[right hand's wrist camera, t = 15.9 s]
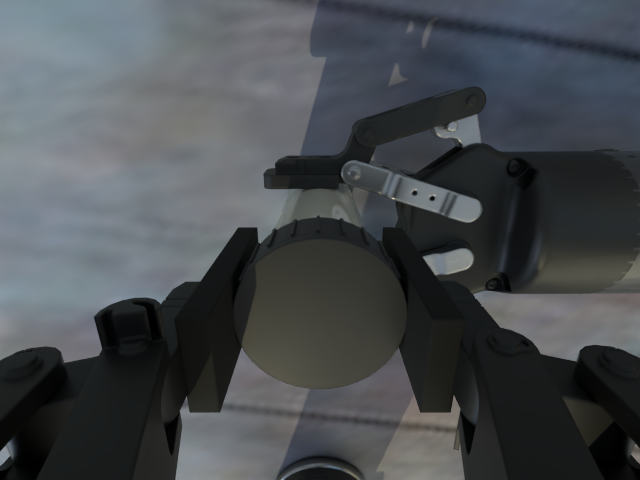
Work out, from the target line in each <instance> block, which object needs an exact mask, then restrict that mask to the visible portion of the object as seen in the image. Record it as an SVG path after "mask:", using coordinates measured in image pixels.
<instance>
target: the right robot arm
mask: <svg viewBox="0 0 640 480" xmlns="http://www.w3.org/2000/svg"><path fill="white" fill-rule="evenodd" d="M257 244H258V232H257V228H238V229H237V230H236V232H235V233H234V235H233V236H232V237H231V239H230V240H229V242H228V243H227V245H226V246H225V247H224V249H223V250H222V252H221V253H220V254H219V256H218V257H217V259H216V260H215V262H214V263H213V264H212V266H211V267H210V269H209V270H208V272H207V273H206V274H205V276H204V277H203V279H202V280H201V282H185V283H183V284H181V285H180V286H178V287H176V288H175V289H173V290H172V291H171V293H170V294H169V295H168V296H167V297H166V300H164V301H163V302H162V303H161V305H160V303H159V302H158V301H156V300H155V299H150V298H132V299H127V300H122V301H120V302H117V303H114V304H111V305H109V306H107V307H106V308H104V309H102V310H100V311H99V312H98V313H97V314H96V315H95V316H94V319H95V323H96V326H97V330H98V334H99V338H100V342H101V346H102V351H101V353H100V355H99V356H97V357H93V358H88V359H83V360H77V361H72V362H67V363H64V360H63V357H62V354H61V352H60V351H59V350H58V349H56V348H53V347H37V348H30V349H26V350H22V351H19V352H16V353H14V354H13V355H11V356H8V357H6V358H4V359H2V360H1V361H0V451H1V450H2V449H3V448H4V447H5V446H6V447H7V449H8V451H9V454H10V457H9V458H8V459H7V460H6V461H5V462H4V463H3V464H2V465H1V466H0V480H175V477H176V469H177V461H178V454H179V446H180V438H181V431H182V421H181V415H180V409H181V407H182V405H183V403H184V400H185V398H186V396H187V399H188V405H189V411H190V412H220V411H221V408H222V405H223V402H224V399H225V396H226V393H227V390H228V387H229V384H230V381H231V378H232V375H233V371H234V368H235V365H236V362H237V359H238V356H239V353H240V350H241V345H240V343H239V340H238V338H237V336H236V332H235V325H234V315H233V303H234V297H235V294H236V291H237V288H238V286H239V284H240V283H237V282H238V279H239V277H240V275H241V273H242V271H243V269H244V267H245V265H246V263H247V261H249V260H250V258H251V256H252V254H253V252H254V250H255V248H256V245H257ZM382 245H383V247H384V249H385V251H386V253H387V255H388V257H389V258H392V260H393V262H394V264H395V266H396V268H397V270H398V272H399V274H400V276H401V278H402V279H401V280H399V281H400V283H401V285H402V288H403V290H404V292H405V296H406V300H407V319H406V328H405V334H404V336H403V339H402V342H401V343H400V345H399V349H400V352H401V355H402V358H403V361H404V364H405V367H406V370H407V373H408V376H409V379H410V382H411V385H412V388H413V391H414V395H415V398H416V401H417V404H418V407H419V410H420V412H451V407H452V401H453V395H454V396H455V398H456V400H457V402H458V404H459V406H460V408H461V410H460V415H459V420H458V426H457V431H456V437H455V443H454V449H456V450H459V445H461V453H462V461H463V468H464V476H465V480H640V464H639V463H638V462H637V461H636V460H635V459H634V458H633V456H632V455H631V453H632V450H633V448H634V446H635V443H636V444H637V446H638V447H639V448H640V358H638V357H636V356H634V355H632V354H630V353H628V352H626V351H624V350H621V349H618V348H617V349H616V348H614V347H610V346H600V345H591V346H585V347H584V348H582V349H581V350H580V352H579V356H578V359H577V362H576V361H571V360H566V359H561V358H556V357H551V356H546V355H542V354H540V352H539V350H538V348H537V347H536V346H535V345H534V344H533V342H532V341H530V340H529V339H527V338H526V337H524V336H523V335H521V334H519V333H516V332H514V331H512V330H508V329H504V328H500V327H499V326H498V324H497V323H496V322H495V321H494V320H493V318H492V317H491V316H490V315H489V314H488V312H487V311H486V310H485V309H484V308H483V307H481V304H480V303H479V302H478V300H477V299H475V297H474V295H473V294H472V293H471V292H470V291H469V289H468V288H466V287H465V286H463V285H461V284H460V283H458V282H456V281H439V280H438V278H437V277H436V275H435V274H434V272H433V271H432V270H431V268H430V267H429V265H428V264H427V262H426V261H425V260H424V258H423V257H422V255H421V254H420V253H419V251H418V250H417V248H416V247H415V245H414V244H413V243H412V241H411V240H410V238H409V237H408V235H407V234H406V233H405V231H404V230H403V228H383V237H382Z"/></svg>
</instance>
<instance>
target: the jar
mask: <svg viewBox="0 0 640 480" xmlns="http://www.w3.org/2000/svg"><path fill="white" fill-rule="evenodd" d="M318 215H320V217H326V218H334V219H339V220H340V218H343V219H344V221H346V222H349V223H352V224H354V225H356V226H358V227H360V228H361V227H364V225H363V222H362V219H361V217H360V214H359V212H358V209H357V206H356V204H355V201H354V198H353V196H352V193H351V191H350V188H349V185H348V184H339V189H290V191H289V194H288V197H287V199H286V202H285V204H284V207H283V210H282V212H281V215H280V218H279V220H278V223H277V225H276V230H277V229H279V228H281V227H282V226H284V225H287V224H289V223H291V222H293V220H294V219H297V221H298V220H301V219H306V218H314V217H317V216H318ZM364 228H365V227H364ZM365 231H366V230H365Z"/></svg>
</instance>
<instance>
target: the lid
mask: <svg viewBox="0 0 640 480" xmlns="http://www.w3.org/2000/svg"><path fill="white" fill-rule="evenodd" d="M401 279H402V278H401V276H400V274H399V272H398V270H397V268H396V266H395V264H394V262H393V260H392V258H389V257H388V255H387V253H386V251H385V249H384V247H383V245H382V243H381V241H380V240H379V241H377V240H376V239H375V238H374V237H372V236H371V235H370V234H369V233H367V232H366V231H365V228H364V227H361V228H360V227H358V226H356V225H354V224H352V223H349V222H346V221H344V219H343V218H340V220H339V219H334V218H326V217H320V215H318V216H317V217H314V218H306V219H301V220H298V221H297V219H294V220H293V222H291V223H289V224H287V225H284V226H282V227H281V228H279V229H277V230H276V228H275V229H273V231H272V233H271V234H270V235H269V236H268V237H267V238H266V239H265V240H264V241H263V242H262V243H261V244H260V243H258V244H257V245H256V248H255V250H254V252H253V254H252V256H251V258H250V260H249V261H247V263H246V265H245V267H244V269H243V271H242V273H241V275H240V277H239V279H238V282H237V283H240V284H239V286H238V288H237V291H236V294H235V297H234V303H233V315H234V325H235V332H236V336H237V338H238V340H239V343H240V345H241V347H242V348H243V350H244V351H245V353H246V354H247V356H248V357H249V358H250V359H251V360H252V362H254V363H255V364H256V365H257V366H258V367H259V368H260V369H261V370H263V371H264V372H266V373H267V374H269V375H270V376H272V377H274V378H276V379H278V380H280V381H282V382H285V383H287V384H291V385H294V386H298V387H303V388H311V389H330V388H338V387H342V386H346V385H350V384H353V383H356V382H358V381H360V380H362V379H365V378H367V377H368V376H370V375H372V374H373V373H375V372H376V371H378V370H379V369H380V368H381V367H382V366H384V365H385V364H386V363H387V362H388V361H389V360H390V359H391V357H392V356H393V355H394V353H395V352H396V351H397V349H398V347H399V345H400V343H401V342H402V339H403V336H404V334H405V328H406V319H407V300H406V296H405V292H404V290H403V288H402V285H401V283H400V281H399V280H401Z"/></svg>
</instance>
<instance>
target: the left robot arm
mask: <svg viewBox="0 0 640 480" xmlns="http://www.w3.org/2000/svg"><path fill="white" fill-rule="evenodd" d="M485 103H486V95H485V93H484V91H483V90H482V89H481V88H478V87H469V88H463V89H457V90H451V91H448V92H445V93H442V94H439V95H436V96H432V97H429V98H426V99H423V100H420V101H417V102H414V103H411V104H408V105H404V106H401V107H398V108H395V109H392V110H389V111H386V112H383V113H379V114H376V115H373V116H370V117H367V118H364V119H361V120H358V121H357V122H356V123H355V124H354V125H353V127H352V132H351V135H350V138H349V140H348V143H347V146H346V148H345V149H344V150H343V151H342V152H341V153H340V154H338V155H333V156H286V157H284V158H281V159H279V160H278V161H277V162H276V163H275V168H271V169H267V170H266V172H265V173H264V187H265V188H267V189H339V184H348V185H351V186H355V187H358V188H361V189H365V190H368V191H371V192H375V193H378V194H381V195H383V196H385V197H387V198H389V199H392V200H395V201H396V209H397V214H398V221H397V224H396V227H395V228H403V230H404V231H405V233H406V234H407V235H408V237H409V238H410V240H411V241H412V243H413V244H414V245H415V247H416V248H417V250H418V251H419V253H420V254H421V255H422V257H423V258H424V260H425V261H426V262H427V264H428V265H429V267H430V268H431V270H432V271H433V272H434V274H435V275H436V277H437V278H438V280H439V281H456V282H458V283H460V284H461V285H463V286H465V287H466V288H468V289H469V291H470V292H471V293H472V294H475V293H478V292H481V291H496V292H502V293H510V294H588V293H640V151H619V150H614V149H603V150H595V151H576V152H500V151H498V150H496V149H494V148H493V147H491V146H490V145H487V144H484V143H482V142H481V135H480V128H479V120H478V113H479V112H481V110H482V109H483V108H484V106H485ZM428 129H430V132H431V133H432V135H434V136H435V137H439V138H443V139H449V138H451V139H453V140H454V142H455V144H456V146H455V147H454V148H452V149H451V150H450V151H448V152H447V153H445V154H444V155H442V156H441V157H439V158H438V159H436V160H435V161H433V162H432V163H431V164H429V165H428V166H426V167H425V168H423V169H422V170H420V171H419V172H417V173H412V172H409V171H406V170H403V169H400V168H396V167H393V166H390V165H386V164H381V163H378V162H374V161H371V157H372V155H373V153H374V150H375V148H376V146H377V145H380V144H383V143H387V142H390V141H393V140H396V139H399V138H403V137H406V136H409V135H412V134H415V133H419V132H422V131H425V130H428ZM381 243H382V242H381ZM277 480H365V479H364V477H363V476H362V474H361V473H360V472H359V471H358V470H357V469H355V468H354V467H353V466H351V465H349V464H347V463H345V462H343V461H340V460H336V459H331V458H311V459H306V460H302V461H299V462H296V463H294V464H292V465H290V466H289V467H287V468H286V469H285V470H284V471H283V472H282V473H281V474H280V475H279V477H278V478H277Z"/></svg>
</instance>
